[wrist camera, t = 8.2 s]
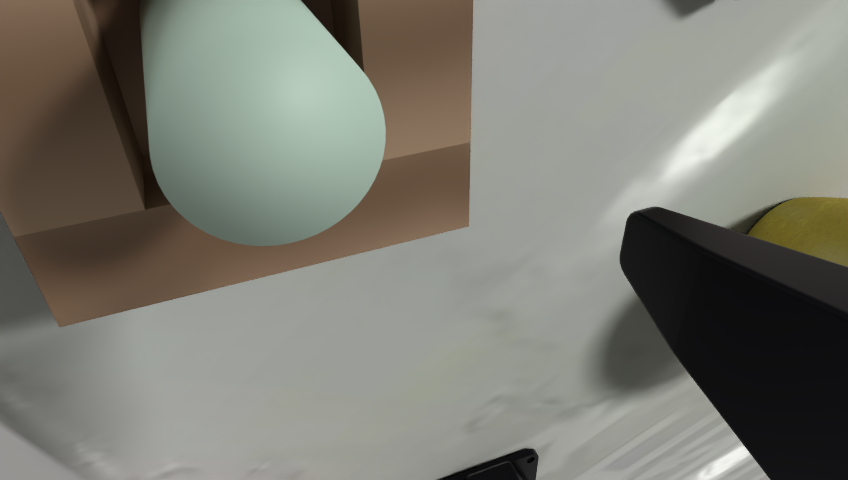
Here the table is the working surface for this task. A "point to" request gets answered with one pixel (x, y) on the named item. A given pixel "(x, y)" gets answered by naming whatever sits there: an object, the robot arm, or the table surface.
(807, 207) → the yellow bowl
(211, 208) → the sage peg
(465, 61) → the walnut socket
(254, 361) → the table surface
